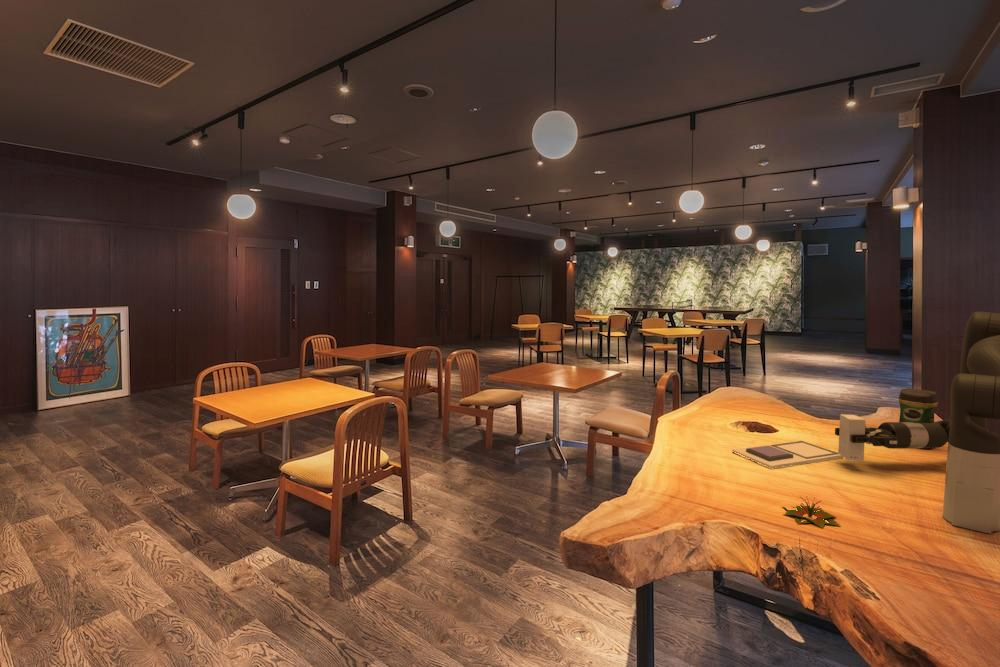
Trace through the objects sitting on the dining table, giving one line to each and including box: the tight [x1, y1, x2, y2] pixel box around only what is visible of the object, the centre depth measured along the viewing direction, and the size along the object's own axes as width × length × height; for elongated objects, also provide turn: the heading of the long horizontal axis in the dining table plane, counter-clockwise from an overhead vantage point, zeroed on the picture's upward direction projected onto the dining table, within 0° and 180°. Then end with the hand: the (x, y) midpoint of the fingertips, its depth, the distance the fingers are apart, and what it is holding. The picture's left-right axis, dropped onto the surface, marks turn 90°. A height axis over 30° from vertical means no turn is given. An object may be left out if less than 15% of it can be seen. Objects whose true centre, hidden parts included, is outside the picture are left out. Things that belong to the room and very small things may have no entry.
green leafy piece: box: [783, 495, 841, 529], centre depth 112 cm, size 12×12×5 cm
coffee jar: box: [897, 387, 939, 449], centre depth 160 cm, size 10×8×19 cm
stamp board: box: [731, 440, 844, 468], centre depth 152 cm, size 28×15×2 cm, turn 107°
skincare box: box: [837, 414, 866, 461], centre depth 142 cm, size 6×4×12 cm
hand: (843, 435), depth 142 cm, fingers closed on skincare box, 6 cm apart
